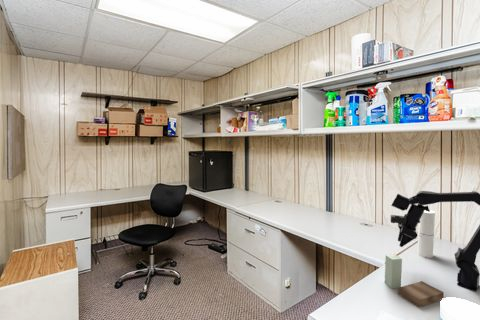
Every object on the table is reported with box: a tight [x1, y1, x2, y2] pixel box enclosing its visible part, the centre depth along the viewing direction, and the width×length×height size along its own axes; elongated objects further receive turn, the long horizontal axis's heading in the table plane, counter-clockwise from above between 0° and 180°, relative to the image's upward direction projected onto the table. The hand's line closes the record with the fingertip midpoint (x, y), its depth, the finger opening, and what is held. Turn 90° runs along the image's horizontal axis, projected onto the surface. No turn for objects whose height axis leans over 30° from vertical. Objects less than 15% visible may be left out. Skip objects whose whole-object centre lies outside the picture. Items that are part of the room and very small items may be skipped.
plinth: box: [397, 281, 445, 308], centre depth 108 cm, size 14×9×3 cm, turn 110°
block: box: [384, 254, 403, 289], centre depth 117 cm, size 4×4×13 cm
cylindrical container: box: [416, 209, 436, 259], centre depth 146 cm, size 7×7×25 cm
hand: (399, 243), depth 128 cm, fingers open, 9 cm apart
